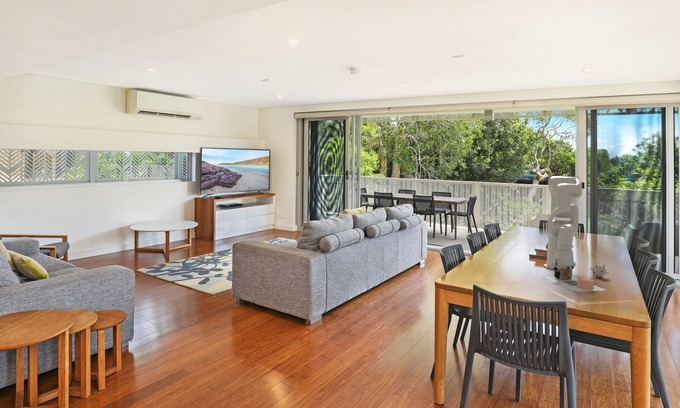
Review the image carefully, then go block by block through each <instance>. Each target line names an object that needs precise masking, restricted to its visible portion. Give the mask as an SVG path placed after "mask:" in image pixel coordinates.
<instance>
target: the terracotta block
mask: <svg viewBox="0 0 680 408" xmlns="http://www.w3.org/2000/svg"><path fill="white" fill-rule="evenodd" d="M577 279H578V280H577V287H579V288H581V289H583V290H592V289H594V285H595V280H594V279H591V278H589V277H577Z"/></svg>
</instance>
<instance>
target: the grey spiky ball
mask: <svg viewBox="0 0 680 408" xmlns="http://www.w3.org/2000/svg"><path fill="white" fill-rule="evenodd" d="M589 269H590V270H591V272H592V277H599V278H600V279H602V277H604V276H605V275H608V274H609V272H607V270H606V264H603V265H601V264H599V263H596V264H595V265H594V266H592V267H590V268H589Z"/></svg>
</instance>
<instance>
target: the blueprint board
mask: <svg viewBox="0 0 680 408" xmlns="http://www.w3.org/2000/svg"><path fill="white" fill-rule="evenodd" d="M543 278H544V279H547V280H550V281H551V282H554V283H556V284H558V285H561V286H563V287H566V288H568V289H570V290H572V291H574V292H599V291H600V292H601V291H606V289H605V288H602V287H599V286H597V285H595V284H594V289H592V290H583V289H581V288H579V287H577V280H578V277H575V276H572V279H563V280H561V279H559V278H556V277H554V276H543Z"/></svg>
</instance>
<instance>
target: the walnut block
mask: <svg viewBox="0 0 680 408" xmlns="http://www.w3.org/2000/svg"><path fill="white" fill-rule="evenodd" d="M557 269H558V268H557ZM553 271H554V274H553V277H555V270H554V269H553ZM559 272H560V277H559V279H561V280H563V279H572V277H573V269H572V270H569V269H567V267H565V268H560V270H559Z"/></svg>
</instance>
